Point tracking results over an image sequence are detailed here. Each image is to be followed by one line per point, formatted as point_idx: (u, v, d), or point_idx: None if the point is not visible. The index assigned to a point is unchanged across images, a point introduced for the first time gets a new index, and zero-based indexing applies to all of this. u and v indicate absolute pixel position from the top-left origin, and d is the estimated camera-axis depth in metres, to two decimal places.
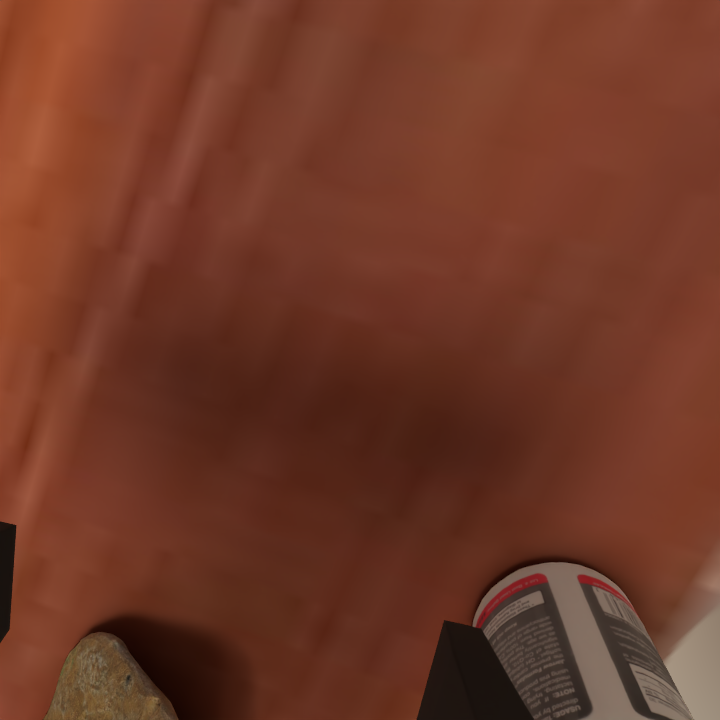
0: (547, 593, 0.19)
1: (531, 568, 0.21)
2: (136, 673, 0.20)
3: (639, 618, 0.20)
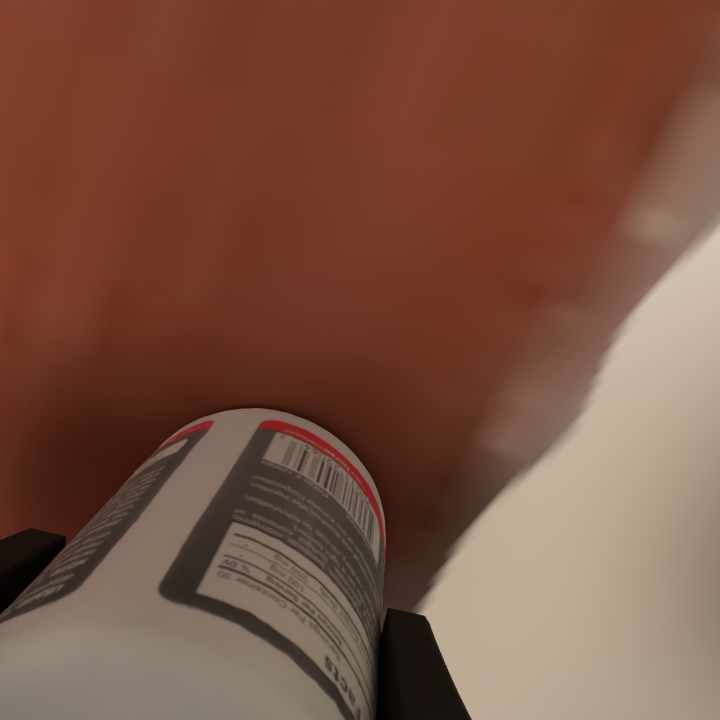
0: (194, 440, 0.12)
1: (206, 417, 0.13)
2: None
3: (369, 491, 0.12)
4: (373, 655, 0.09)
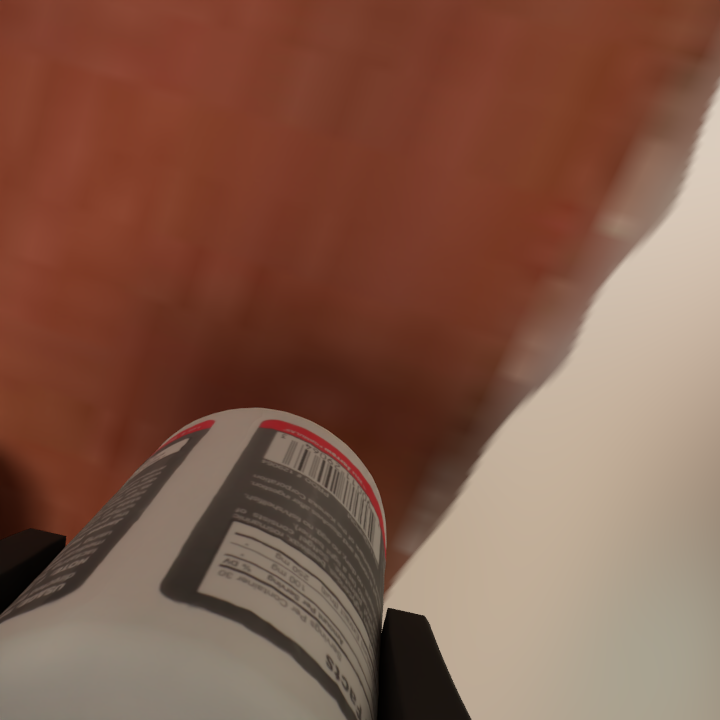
0: (194, 440, 0.12)
1: (207, 417, 0.13)
2: None
3: (370, 491, 0.12)
4: (374, 654, 0.09)
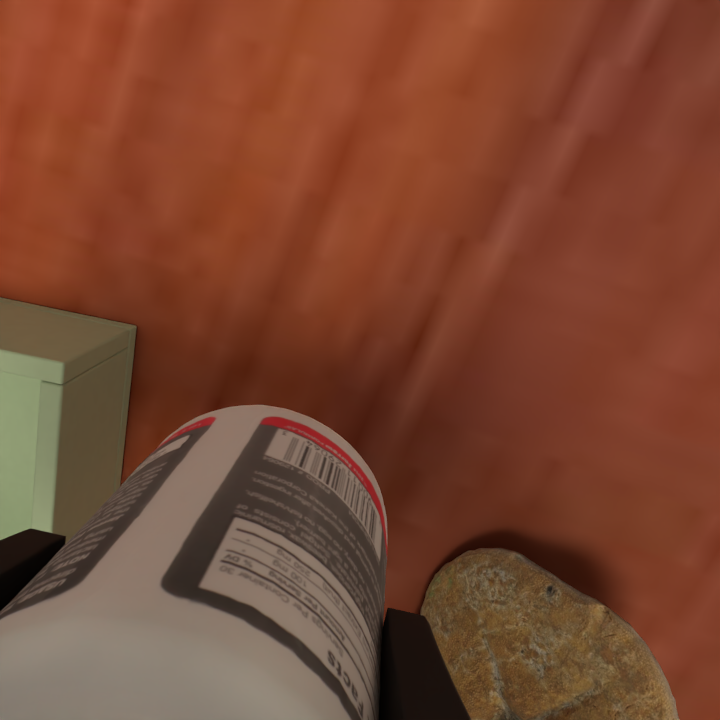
0: (195, 436, 0.12)
1: (208, 414, 0.13)
2: (560, 583, 0.19)
3: (371, 488, 0.12)
4: (375, 651, 0.09)
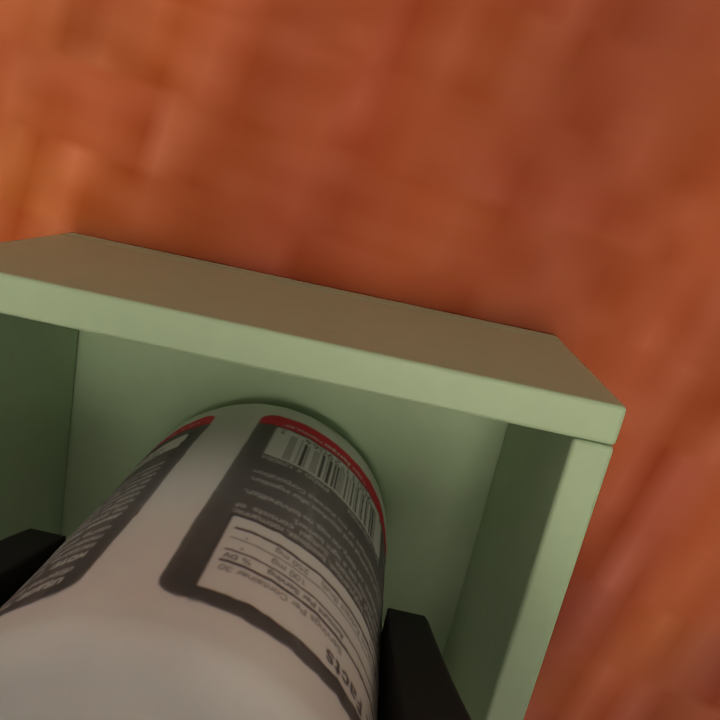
0: (194, 435, 0.12)
1: (207, 412, 0.13)
2: None
3: (370, 487, 0.12)
4: (374, 649, 0.09)
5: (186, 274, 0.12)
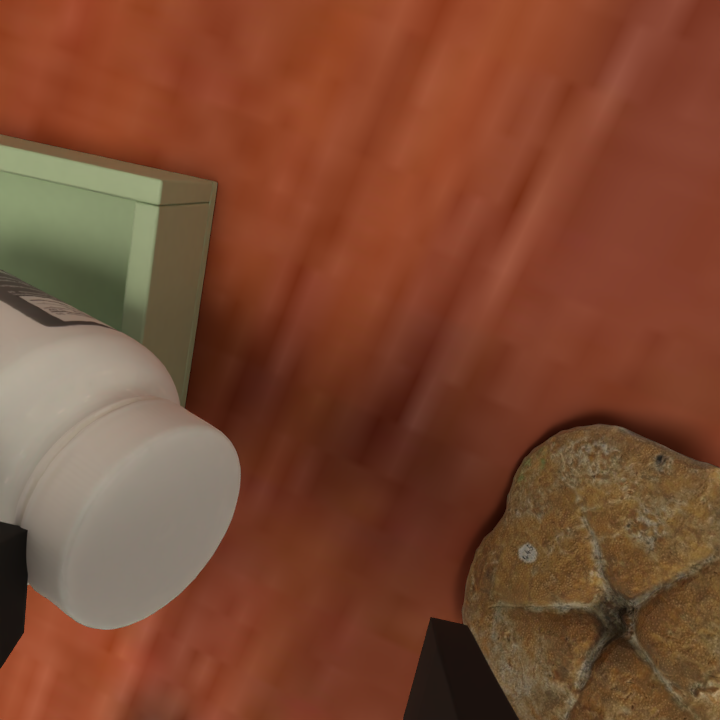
0: None
1: None
2: (671, 451, 0.18)
3: None
4: None
5: None
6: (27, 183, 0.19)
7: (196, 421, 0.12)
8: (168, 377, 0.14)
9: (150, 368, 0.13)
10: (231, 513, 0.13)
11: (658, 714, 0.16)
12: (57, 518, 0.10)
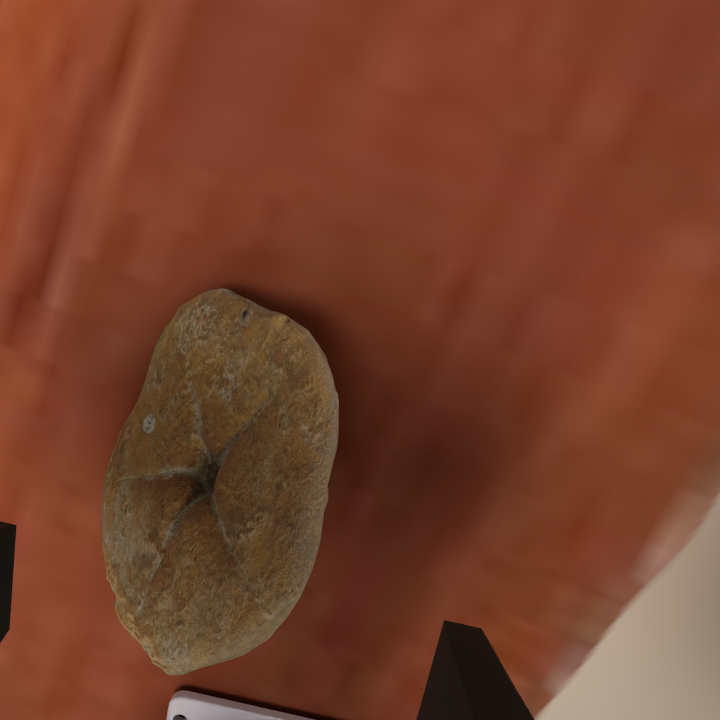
0: None
1: None
2: (254, 306, 0.17)
3: None
4: None
5: None
6: None
7: None
8: None
9: None
10: None
11: (212, 562, 0.16)
12: None
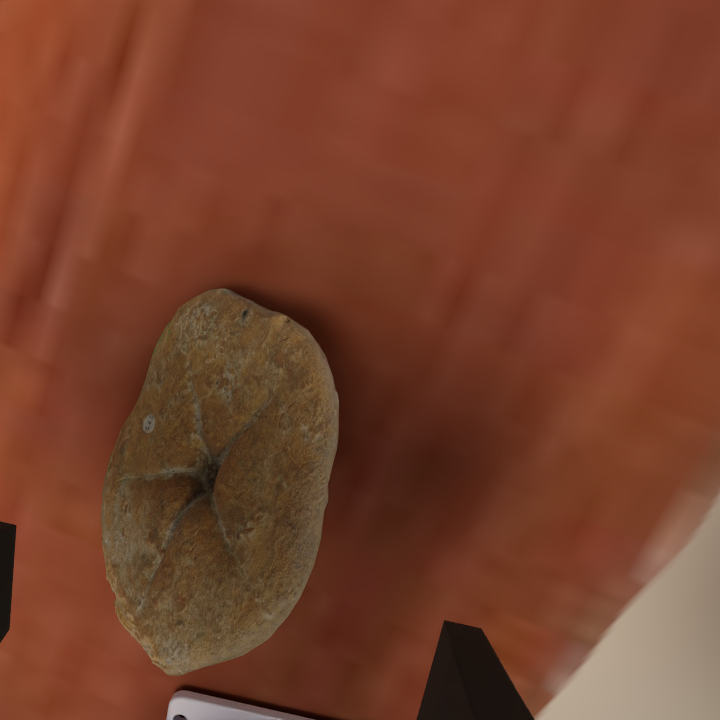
0: None
1: None
2: (254, 306, 0.17)
3: None
4: None
5: None
6: None
7: None
8: None
9: None
10: None
11: (212, 562, 0.16)
12: None
